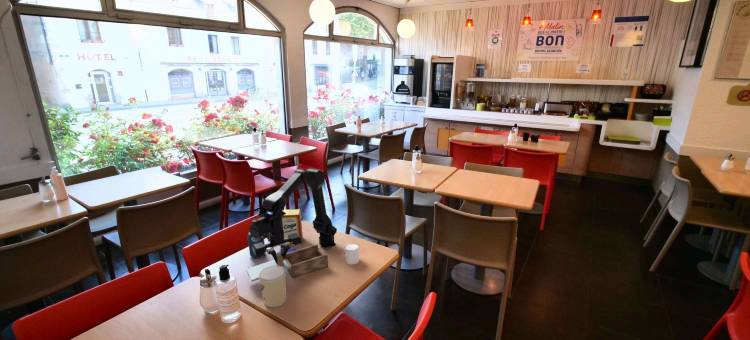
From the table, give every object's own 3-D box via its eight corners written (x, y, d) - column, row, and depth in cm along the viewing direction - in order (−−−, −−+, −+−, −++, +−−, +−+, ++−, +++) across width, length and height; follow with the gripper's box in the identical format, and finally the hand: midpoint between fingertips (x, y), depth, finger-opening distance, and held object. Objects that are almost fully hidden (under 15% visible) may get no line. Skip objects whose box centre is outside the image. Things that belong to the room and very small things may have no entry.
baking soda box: (302, 237, 176) (300, 208, 172) (301, 243, 170) (299, 213, 166) (283, 239, 175) (280, 209, 171) (282, 245, 169) (278, 215, 164)
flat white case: (282, 258, 148) (281, 248, 146) (289, 268, 141) (287, 257, 139) (246, 271, 140) (244, 260, 139) (251, 281, 133) (249, 271, 132)
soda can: (263, 259, 157) (259, 235, 154) (247, 259, 157) (244, 235, 154) (267, 251, 164) (265, 228, 160) (253, 251, 164) (250, 228, 160)
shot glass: (363, 260, 154) (362, 246, 152) (352, 266, 149) (351, 252, 147) (352, 255, 158) (352, 241, 156) (341, 261, 154) (340, 247, 152)
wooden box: (318, 256, 158) (317, 244, 157) (328, 267, 149) (327, 254, 148) (284, 266, 150) (282, 254, 149) (292, 279, 141) (291, 266, 140)
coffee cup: (265, 293, 133) (261, 265, 129) (290, 291, 134) (287, 264, 130) (259, 309, 124) (255, 280, 120) (286, 307, 125) (282, 278, 121)
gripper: (291, 215, 149) (294, 248, 154) (246, 226, 140) (251, 260, 144) (300, 224, 140) (303, 259, 145) (253, 237, 131) (258, 273, 135)
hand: (279, 262), depth 143 cm, fingers closed on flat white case
